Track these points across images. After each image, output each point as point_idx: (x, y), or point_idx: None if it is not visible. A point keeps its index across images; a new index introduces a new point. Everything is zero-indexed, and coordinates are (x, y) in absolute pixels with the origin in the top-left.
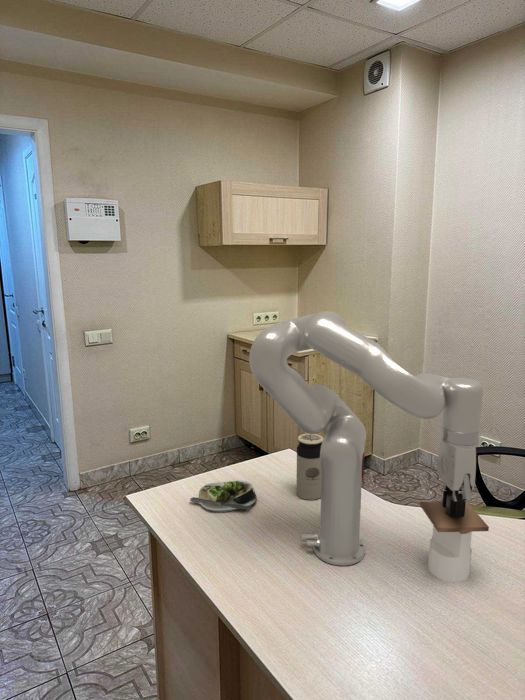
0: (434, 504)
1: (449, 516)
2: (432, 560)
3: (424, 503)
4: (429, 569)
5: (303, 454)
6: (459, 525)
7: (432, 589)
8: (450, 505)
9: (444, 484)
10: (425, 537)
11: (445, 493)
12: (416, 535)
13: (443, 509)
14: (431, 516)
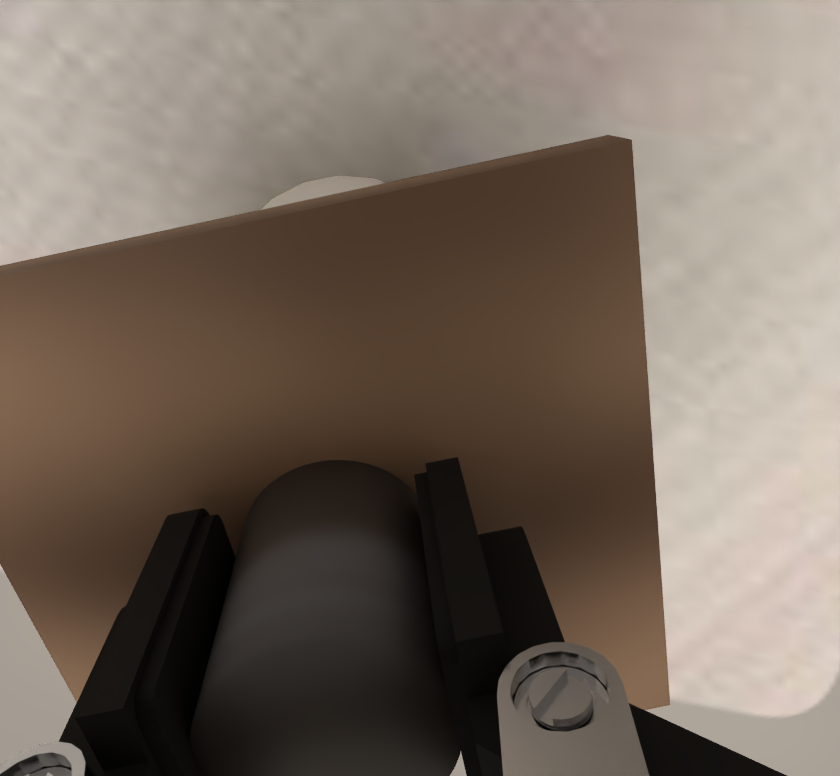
0: (560, 348)
1: (254, 493)
2: (280, 204)
3: (577, 200)
4: (318, 180)
5: None
6: (56, 572)
7: (109, 167)
8: (140, 623)
9: (579, 757)
10: (699, 210)
11: (436, 637)
12: (725, 146)
13: (430, 446)
14: (181, 252)
